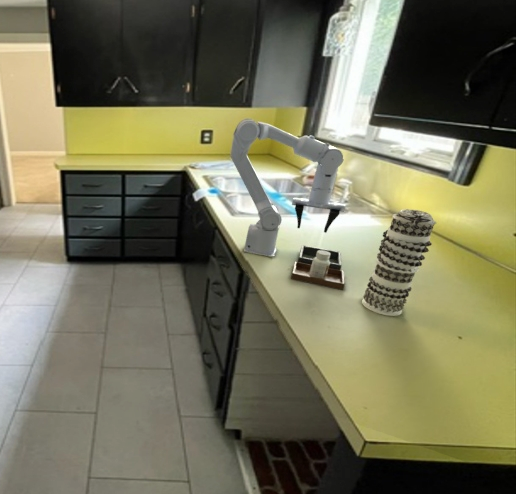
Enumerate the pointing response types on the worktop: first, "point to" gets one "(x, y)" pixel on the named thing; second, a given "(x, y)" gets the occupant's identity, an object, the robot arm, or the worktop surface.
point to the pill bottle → (320, 264)
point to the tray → (332, 279)
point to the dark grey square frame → (312, 252)
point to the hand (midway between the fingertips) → (311, 229)
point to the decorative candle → (398, 261)
